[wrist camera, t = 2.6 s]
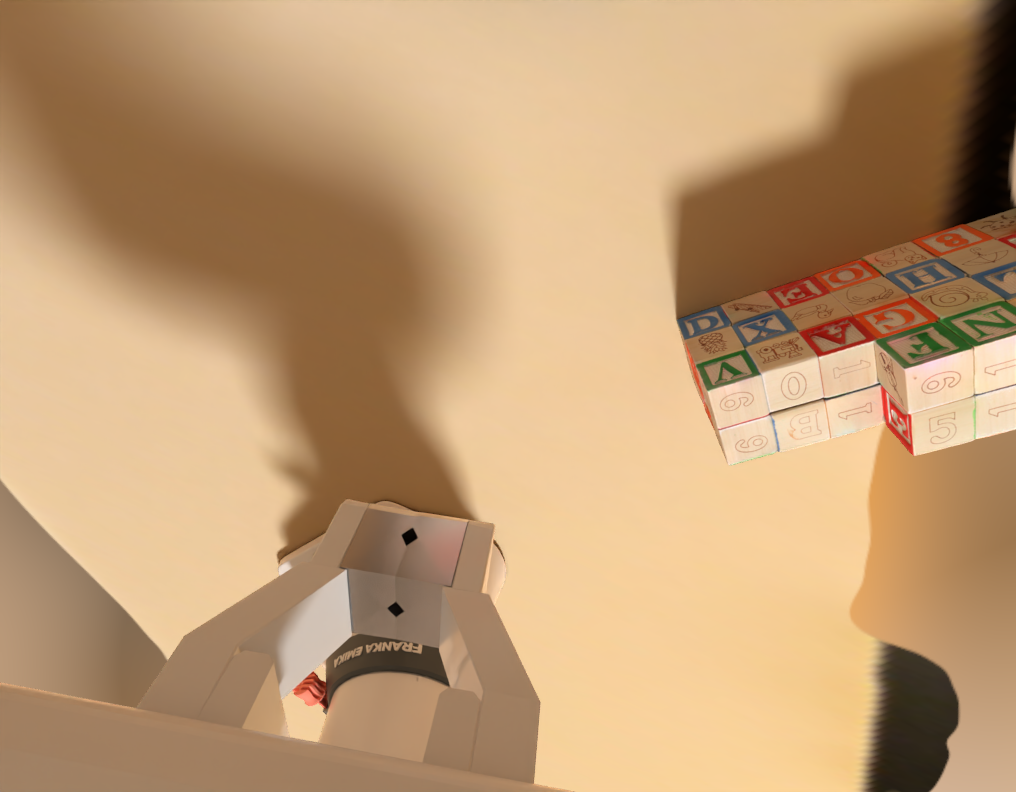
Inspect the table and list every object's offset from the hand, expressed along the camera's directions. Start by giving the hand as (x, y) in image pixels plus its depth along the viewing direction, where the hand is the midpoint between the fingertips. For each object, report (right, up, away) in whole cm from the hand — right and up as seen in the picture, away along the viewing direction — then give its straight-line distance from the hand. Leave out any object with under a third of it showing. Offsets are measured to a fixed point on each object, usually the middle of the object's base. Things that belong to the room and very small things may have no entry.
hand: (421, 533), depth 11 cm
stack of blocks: (+24, +9, +28) cm, 39 cm away
